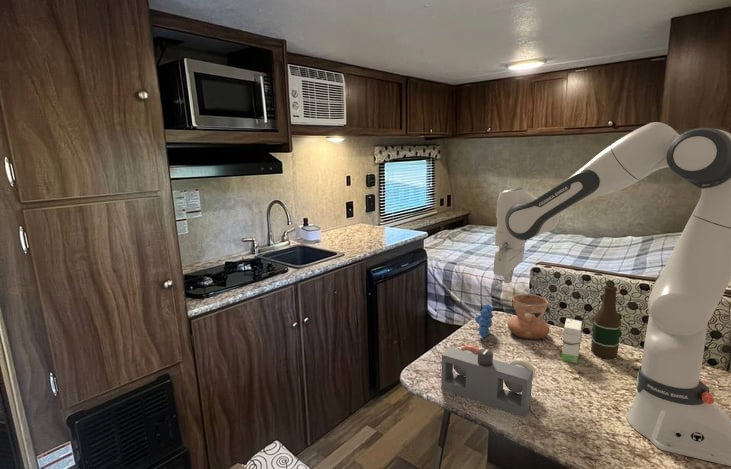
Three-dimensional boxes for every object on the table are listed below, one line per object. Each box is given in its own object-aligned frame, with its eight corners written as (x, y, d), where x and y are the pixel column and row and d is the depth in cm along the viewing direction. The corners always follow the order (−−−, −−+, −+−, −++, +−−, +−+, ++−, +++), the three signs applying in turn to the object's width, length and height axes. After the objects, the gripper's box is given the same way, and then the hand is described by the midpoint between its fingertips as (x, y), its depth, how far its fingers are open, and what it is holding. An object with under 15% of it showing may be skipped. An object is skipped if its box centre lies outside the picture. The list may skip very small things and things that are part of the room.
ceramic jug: (547, 348, 137) (551, 309, 134) (504, 339, 143) (507, 303, 141) (549, 328, 153) (552, 294, 150) (510, 322, 159) (512, 288, 157)
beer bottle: (617, 351, 134) (625, 284, 129) (617, 361, 127) (625, 292, 122) (591, 346, 138) (597, 281, 133) (589, 355, 131) (596, 288, 126)
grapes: (478, 327, 155) (479, 298, 153) (495, 330, 151) (497, 301, 149) (469, 338, 145) (469, 308, 143) (487, 343, 142) (488, 312, 139)
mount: (530, 407, 106) (532, 370, 103) (525, 418, 101) (527, 380, 99) (448, 380, 119) (449, 346, 117) (441, 388, 115) (441, 354, 113)
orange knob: (482, 369, 120) (483, 348, 119) (473, 381, 114) (474, 359, 112) (460, 362, 124) (461, 342, 123) (450, 374, 118) (450, 352, 116)
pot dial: (494, 361, 108) (495, 350, 108) (489, 367, 105) (490, 356, 104) (480, 357, 111) (480, 346, 110) (475, 363, 107) (475, 352, 107)
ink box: (578, 364, 126) (581, 330, 124) (561, 360, 129) (563, 327, 126) (579, 352, 134) (582, 320, 131) (563, 349, 136) (566, 317, 134)
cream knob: (534, 384, 112) (536, 361, 110) (527, 399, 105) (529, 375, 104) (508, 377, 116) (510, 355, 114) (500, 390, 109) (501, 367, 108)
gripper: (510, 247, 112) (508, 293, 115) (528, 235, 128) (526, 275, 131) (489, 245, 116) (487, 289, 118) (508, 233, 132) (507, 272, 135)
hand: (507, 282), depth 125 cm, fingers closed
